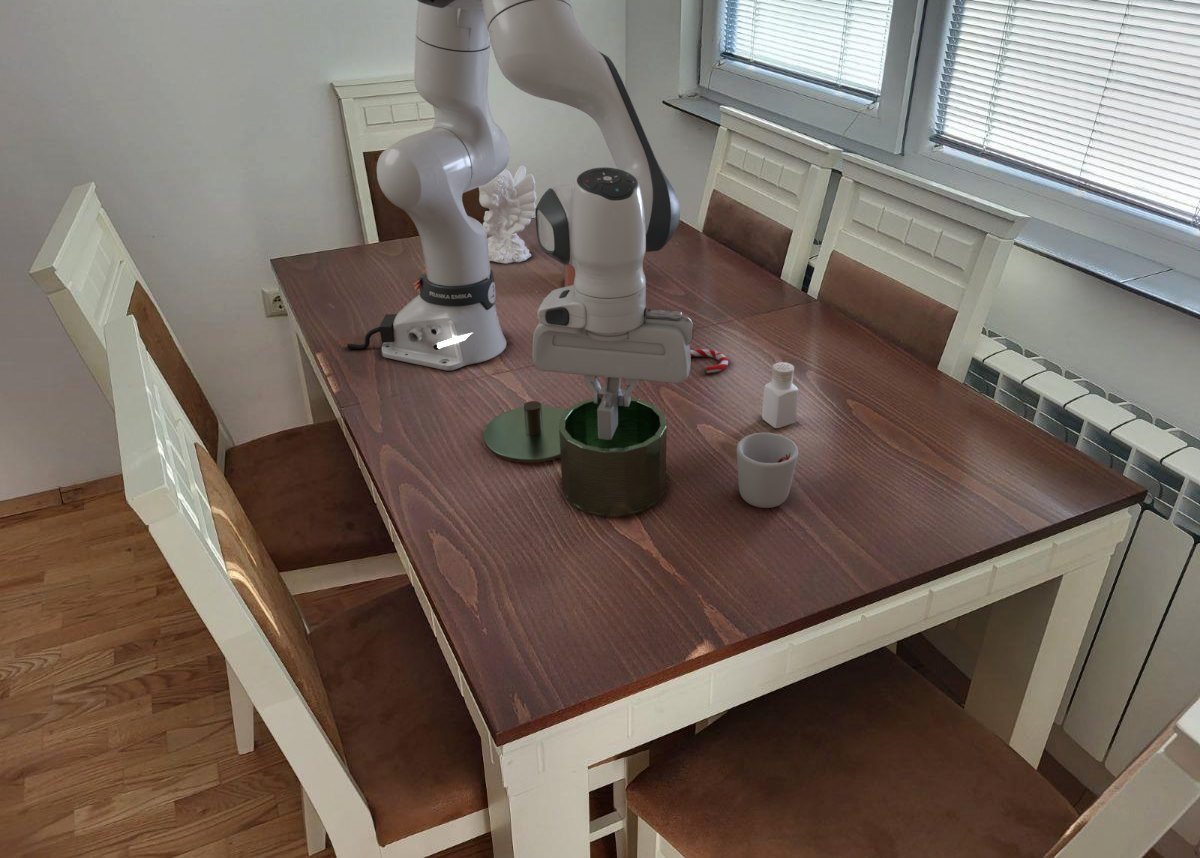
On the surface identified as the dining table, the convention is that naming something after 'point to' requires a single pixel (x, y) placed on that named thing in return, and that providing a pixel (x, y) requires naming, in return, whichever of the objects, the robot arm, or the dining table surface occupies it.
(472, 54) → the robot arm
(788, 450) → the cup
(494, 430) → the tin lid
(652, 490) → the tin
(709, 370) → the candy cane
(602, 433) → the lighter
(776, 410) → the pepper shaker
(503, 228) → the cherub figurine
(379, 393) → the dining table surface
